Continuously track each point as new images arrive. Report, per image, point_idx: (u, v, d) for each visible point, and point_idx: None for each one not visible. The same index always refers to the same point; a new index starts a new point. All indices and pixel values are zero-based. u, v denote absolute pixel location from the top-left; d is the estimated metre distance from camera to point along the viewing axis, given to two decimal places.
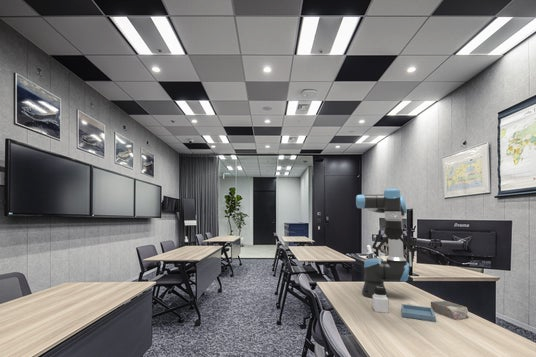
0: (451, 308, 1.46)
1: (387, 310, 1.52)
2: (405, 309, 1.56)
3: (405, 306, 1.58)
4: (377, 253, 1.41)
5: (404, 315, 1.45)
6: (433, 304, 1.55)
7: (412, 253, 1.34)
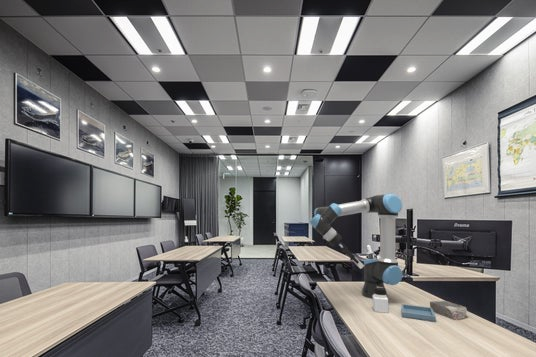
0: (450, 308, 1.46)
1: (387, 310, 1.52)
2: (405, 309, 1.56)
3: (405, 306, 1.58)
4: None
5: (404, 315, 1.45)
6: (432, 304, 1.55)
7: (353, 260, 1.53)
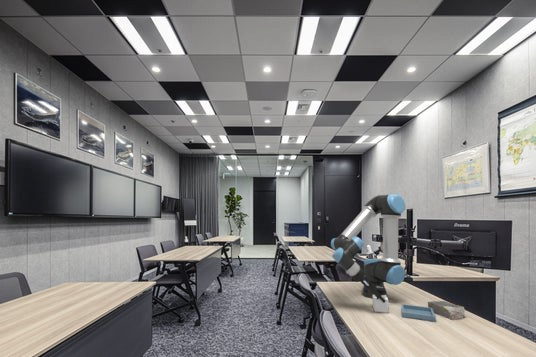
0: (448, 308, 1.46)
1: (387, 310, 1.52)
2: (405, 309, 1.56)
3: (405, 306, 1.58)
4: None
5: (404, 315, 1.45)
6: (430, 304, 1.55)
7: (380, 299, 1.52)
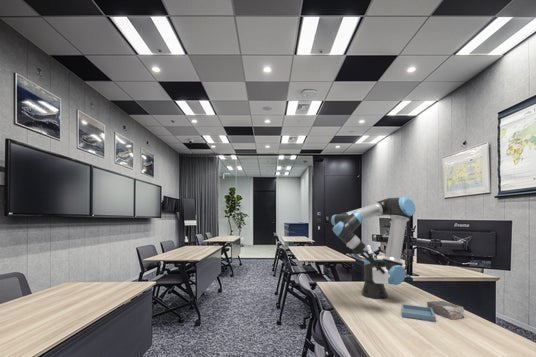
0: (447, 308, 1.46)
1: (387, 281, 1.53)
2: (405, 309, 1.56)
3: (405, 306, 1.58)
4: None
5: (404, 315, 1.45)
6: (430, 304, 1.55)
7: (379, 270, 1.53)
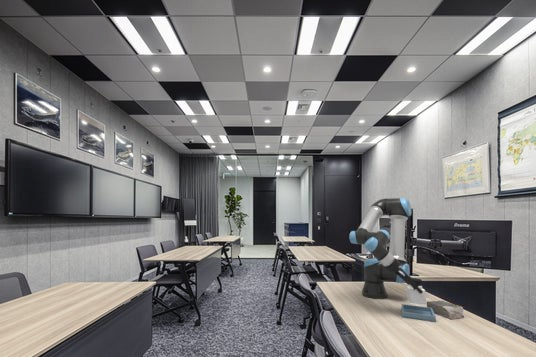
0: (447, 308, 1.46)
1: (424, 301, 1.45)
2: (405, 309, 1.56)
3: (405, 306, 1.58)
4: None
5: (404, 315, 1.45)
6: (429, 304, 1.55)
7: (416, 289, 1.46)
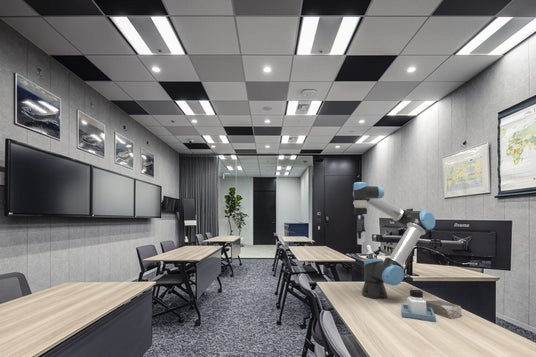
0: (446, 307, 1.47)
1: (425, 313, 1.46)
2: (405, 309, 1.56)
3: (405, 306, 1.58)
4: None
5: (404, 315, 1.45)
6: (427, 303, 1.56)
7: (358, 234, 1.64)
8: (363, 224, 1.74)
